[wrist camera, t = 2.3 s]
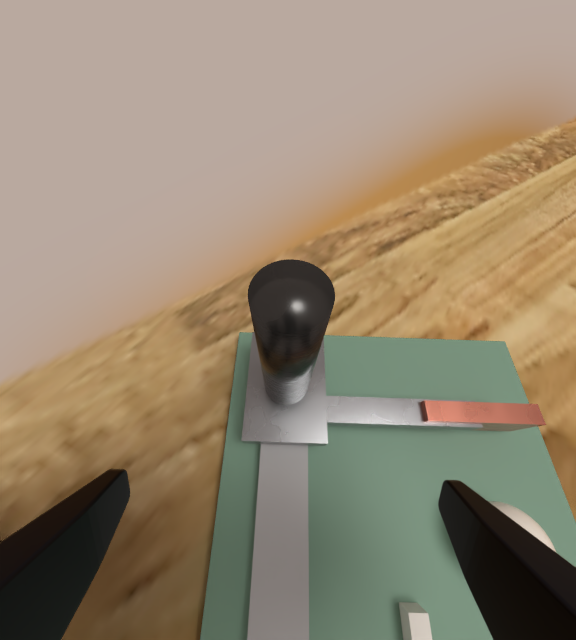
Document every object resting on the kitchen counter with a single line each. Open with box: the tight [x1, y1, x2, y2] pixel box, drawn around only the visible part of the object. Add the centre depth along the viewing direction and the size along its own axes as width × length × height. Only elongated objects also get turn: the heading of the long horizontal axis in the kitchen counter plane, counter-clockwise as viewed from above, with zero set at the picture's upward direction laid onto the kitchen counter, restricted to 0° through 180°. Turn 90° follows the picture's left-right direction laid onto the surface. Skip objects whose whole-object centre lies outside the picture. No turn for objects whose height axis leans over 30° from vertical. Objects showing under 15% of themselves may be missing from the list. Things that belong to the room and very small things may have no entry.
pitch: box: [200, 332, 576, 640], centre depth 16 cm, size 27×22×2 cm
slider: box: [241, 260, 546, 446], centre depth 14 cm, size 7×18×13 cm, turn 88°
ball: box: [488, 501, 556, 552], centre depth 15 cm, size 4×4×4 cm
